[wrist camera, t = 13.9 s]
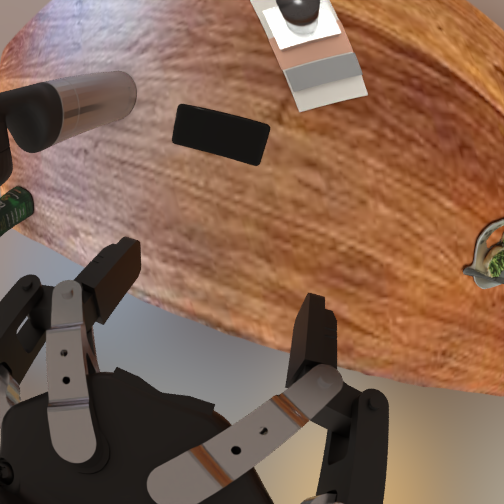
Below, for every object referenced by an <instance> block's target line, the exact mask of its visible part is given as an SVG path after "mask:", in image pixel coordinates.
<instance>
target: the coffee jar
mask: <svg viewBox="0 0 504 504" xmlns="http://www.w3.org/2000/svg"><path fill="white" fill-rule="evenodd" d="M32 213H33V201H32V198H31V195H30V193H29V192H27V191H26V190H25V189H23V188H21V187H18V186H16V187H14V188H13V189H11V190H10V191H8V192H7V193H6V194H4V195H3V196H2V197H1V198H0V237H1V236H2V235H3V234H4V233H5V232H7V231H8V230H9V229H11V228H12V227H14V226H15V225H17V224H18V223H20V222H22V221H23V220H25V219H26V218H28V217H29V216H31V215H32Z"/></svg>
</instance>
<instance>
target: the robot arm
mask: <svg viewBox="0 0 504 504" xmlns="http://www.w3.org/2000/svg"><path fill="white" fill-rule="evenodd" d="M135 100H136V87H135V84H134V82H133V80H132V78H131V77H130V76H129V75H128V74H126V73H124V72H121V71H113V72H101V73H93V74H85V75H78V76H72V77H66V78H60V79H56V80H51V81H46V82H41V83H37V84H33V85H29V86H25V87H21V88H17V89H13V90H9V91H5V92H1V93H0V186H1V185H2V184H3V183H5V182H6V181H7V180H8V178H9V177H10V175H11V173H12V170H13V164H12V156H11V151H10V147H9V146H10V144H9V138H8V132H7V128H8V130H9V131H10V133H11V135H12V136H13V138H14V140H15V142H16V143H17V144H18V146H19V147H20V148H21V149H23V150H24V151H26V152H29V153H36V152H40V151H42V150H44V149H46V148H48V147H50V146H53V145H55V144H57V143H59V142H62V141H64V140H66V139H68V138H71V137H73V136H76V135H78V134H81V133H83V132H86V131H89V130H91V129H94V128H97V127H99V126H102V125H105V124H108V123H111V122H114V121H117V120H120V119H122V118H124V117H126V116H127V115H128V114H129V113H130V112H131V110H132V108H133V106H134V104H135ZM140 270H141V248H140V242H139V241H138V240H135V239H132V238H129V237H123V238H122V239H121V240H120V241H119V242H118V243H117V244H111V245H109V246H107V247H105V248H104V249H103V250H102V251H101V252H100V253H99V254H98V255H97V256H96V257H95V258H94V259H93V260H92V262H90V263H89V264H88V265H87V266H86V267H85V268H84V270H83V271H81V273H80V274H79V275H78V276H77V277H76V278H75V279H74V280H66V281H62V282H60V283H59V284H58V285H56V286H55V287H53V286H46V285H41V282H40V279H39V278H38V277H37V276H36V275H26V276H24V277H22V278H20V279H19V280H18V281H17V283H16V284H15V285H14V286H13V287H12V288H11V289H10V291H9V292H8V293H7V294H6V295H5V297H4V298H3V299H2V300H1V301H0V428H1V446H0V504H274V503H273V501H272V499H271V498H270V496H269V494H268V492H267V490H266V488H265V487H264V485H263V483H262V481H261V479H260V477H259V475H258V474H257V472H256V470H255V468H254V466H255V465H256V464H258V463H259V462H260V461H262V460H263V459H264V458H266V457H267V456H268V455H269V454H271V453H272V452H273V451H275V450H276V449H277V448H278V447H279V446H281V445H282V444H283V443H284V442H286V441H287V440H288V439H289V438H290V437H291V436H293V435H294V434H295V433H296V432H297V431H298V430H299V429H301V428H302V427H303V426H304V425H305V424H306V423H307V422H308V421H309V420H310V421H312V422H314V423H316V424H318V425H320V426H322V427H324V428H326V429H328V431H327V437H326V444H325V450H324V456H323V462H322V467H321V472H320V478H319V483H318V487H317V492H316V496H314V497H310V498H307V499H306V500H304V501H303V502H302V503H301V504H383V499H384V491H385V481H386V470H387V455H388V430H389V429H388V427H389V404H388V400H387V398H386V397H385V395H384V394H383V393H382V392H380V391H379V390H376V389H367V390H365V391H363V392H360V391H358V390H357V389H355V388H353V387H351V386H349V385H347V384H346V383H345V382H344V381H343V379H342V376H341V374H340V373H339V371H338V370H337V332H336V331H337V320H336V318H335V316H334V313H333V311H331V310H327V309H325V297H323V296H320V295H316V294H313V293H308V294H307V296H306V298H305V300H304V302H303V304H302V306H301V308H300V311H299V313H298V315H297V317H296V320H295V324H294V329H293V337H292V344H291V352H290V359H289V366H288V373H287V380H286V386H285V387H286V388H288V389H287V390H285V391H284V392H283V393H281V394H280V395H275V396H273V397H272V398H271V399H269V400H268V401H266V402H265V403H264V404H262V405H261V406H259V407H258V408H257V409H255V410H254V411H253V412H251V413H250V414H248V415H247V416H245V417H244V418H243V419H241V420H239V421H238V422H236V423H235V424H234V425H231V424H230V423H229V421H227V420H226V419H225V418H224V417H223V416H222V415H220V414H218V413H217V412H215V411H214V406H215V404H212V403H209V402H206V401H203V400H200V399H197V398H194V397H191V396H184V395H176V394H167V393H162V392H160V391H158V390H157V389H155V388H154V387H152V386H151V385H150V384H148V383H147V382H145V381H144V380H143V379H141V378H140V377H138V376H136V375H133V374H131V373H129V372H127V371H125V370H123V369H120V368H118V367H116V369H115V371H114V373H113V372H100V369H99V366H98V362H97V356H96V348H95V340H94V332H93V325H94V323H95V322H98V323H101V324H103V325H104V324H105V322H106V320H107V319H108V318H109V316H110V315H111V314H112V312H113V311H114V309H115V308H116V307H117V305H118V304H119V302H120V301H121V300H122V298H123V297H124V295H125V294H126V293H127V291H128V290H129V289H130V287H131V286H132V285H133V283H134V282H135V281H136V279H137V278H138V276H139V274H140ZM26 316H27V317H28V320H27V321H26V322H25V324H24V325H23V326H22V328H21V329H20V331H19V332H18V334H17V335H16V333H17V329H18V327H19V326H20V325H21V323H22V322H23V320H24V319H25V318H26ZM45 342H46V361H47V382H48V392H45V393H43V394H41V395H38V396H35V397H33V398H30V399H28V400H25V401H22V402H20V400H21V398H20V387H19V385H20V383H21V381H22V380H23V378H24V376H25V374H26V373H27V371H28V369H29V368H30V366H31V364H32V363H33V361H34V359H35V358H36V356H37V354H38V353H39V351H40V350H41V348H42V347H43V345H44V343H45Z"/></svg>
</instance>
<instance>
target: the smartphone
mask: <svg viewBox="0 0 504 504" xmlns="http://www.w3.org/2000/svg"><path fill="white" fill-rule="evenodd" d="M269 132H270V126H269V125H268V124H265V123H261V122H258V121H254V120H251V119H247V118H243V117H239V116H235V115H231V114H227V113H223V112H219V111H215V110H210V109H206V108H201V107H196V106H191V105H186V104H180V105H179V106H178V108H177V114H176V119H175V124H174V130H173V136H172V142H173V143H174V144H178V145H182V146H186V147H189V148H193V149H197V150H201V151H205V152H209V153H212V154H216V155H220V156H223V157H227V158H230V159H234V160H237V161H240V162H244V163H247V164H251V165H254V166H258V165H259V164H260V162H261V159H262V155H263V152H264V149H265V145H266V142H267V139H268V135H269Z"/></svg>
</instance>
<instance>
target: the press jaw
mask: <svg viewBox="0 0 504 504" xmlns="http://www.w3.org/2000/svg"><path fill="white" fill-rule="evenodd" d="M276 3H277V6H276V7H273V8H270V9H267V10H264V11H262V12H263V14H264V16H265V18H266V20H267V22H268V24H269V26H270V28H271V30H272V32H273V34H274V36H275V39H276V41H277V43H278V45H279V47H280V49H281V51H282V52H284V51H287V50H290V49H293V48H297V47H300V46H303V45H307V44H311V43H314V42H318V41H322V40H326V39H331V38H335V37H339V36H340V34H341V31H340V29H339V27H338V25H337V22H336V20H335V18H334V16H333V14H332V12H331V10H330V8H329V6H328V4H327V2H326V0H276Z"/></svg>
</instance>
